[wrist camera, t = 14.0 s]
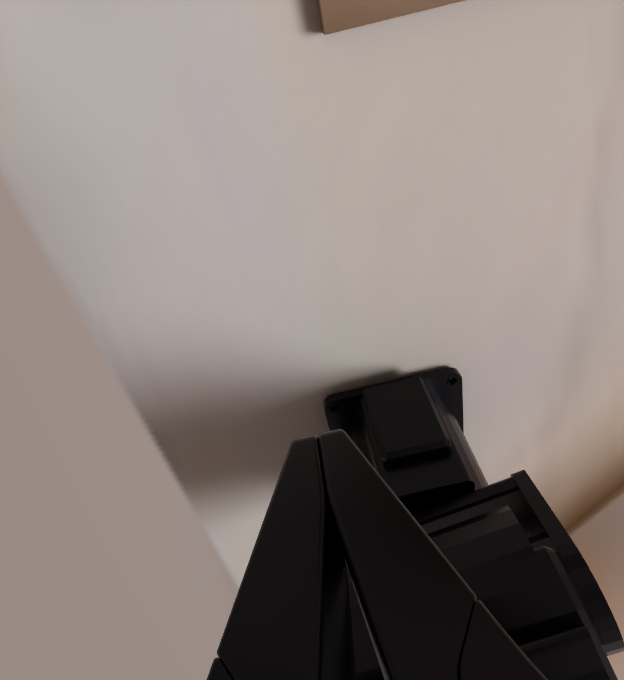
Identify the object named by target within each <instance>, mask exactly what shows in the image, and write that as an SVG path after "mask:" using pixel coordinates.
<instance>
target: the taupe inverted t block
mask: <svg viewBox="0 0 624 680" xmlns="http://www.w3.org/2000/svg"><path fill="white" fill-rule="evenodd" d="M460 1H464V0H318V6H319V12H320V18H321V25H322V31H323V33H324V34H325V35H326V34H330V33H334V32H338V31H342V30H346V29H350V28H354V27H358V26H362V25H366V24H371V23H375V22H379V21H383V20H387V19H391V18H395V17H399V16H403V15H407V14H411V13H415V12H419V11H423V10H427V9H432V8H436V7H440V6H444V5H448V4H452V3H456V2H460Z"/></svg>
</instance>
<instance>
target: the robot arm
mask: <svg viewBox="0 0 624 680" xmlns="http://www.w3.org/2000/svg"><path fill="white" fill-rule="evenodd" d="M451 377H453V378H452V379H450V380H447V379H448V378H451ZM333 404H338V405H336V406H332V405H333ZM324 409H325V413H326V417H327V421H328V425H329V429H330V431H328V432H324V433H321V434H320V435H319V437H317V436H315V435H311V436H307V437H302V438H298V439H295V440H293V441H292V443H291V445H290V448H289V450H288V453H287V456H286V459H285V462H284V464H283V467H282V470H281V473H280V476H279V479H278V481H277V484H276V487H275V490H274V493H273V495H272V498H271V501H270V504H269V507H268V509H267V512H266V515H265V518H264V521H263V524H262V526H261V529H260V532H259V535H258V538H257V540H256V543H255V546H254V549H253V552H252V554H251V557H250V560H249V563H248V566H247V569H246V571H245V574H244V577H243V580H242V583H241V585H240V588H239V591H238V594H237V597H236V599H235V602H234V605H233V608H232V611H231V614H230V616H229V619H228V622H227V625H226V628H225V630H224V633H223V636H222V639H221V642H220V645H219V648H218V650H217V655H218V657H219V658H220V659H219V658H215V659H214V661H213V663H212V666H211V669H210V672H209V675H208V678H207V680H618V679H617V677H616V675H615V673H614V671H613V669H612V667H611V664H610V662H609V660H608V658H607V656H608V655H612V654H615V653H619V652H622V651H624V642H623V639H622V636H621V633H620V630H619V628H618V626H617V623H616V621H615V619H614V616H613V614H612V612H611V610H610V608H609V606H608V604H607V601H606V600H605V597H604V595H603V593H602V591H601V590H600V588H599V586H598V584H597V582H596V580H595V578H594V576H593V574H592V573H591V571H590V569H589V567H588V565H587V564H586V562H585V560H584V559H583V557H582V555H581V553H580V552H579V550H578V549H577V547H576V546H575V544H574V543H573V541H572V539H571V538H570V536H569V535H568V533H567V532H566V531H565V529H564V528H563V526H562V525H561V523H560V522H559V520H558V519H557V517H556V516H555V514H554V513H553V511H552V510H551V508H550V507H549V505H548V504H547V502H546V501H545V499H544V498H543V497H542V495H541V494H540V492H539V491H538V489H537V488H536V486H535V485H534V483H533V482H532V480H531V479H530V477H529V476H528V474H527V473H526V471H525V470H522V471H519V472H516V473H514V474H511V477H510V478H507V479H504V480H502V481H499V482H496V483H494V484H491V485H488V483H487V481H486V479H485V477H484V475H483V473H482V471H481V469H480V467H479V465H478V463H477V461H476V459H475V457H474V455H473V453H472V451H471V448H470V446H469V444H468V442H467V440H466V438H465V436H464V434H463V397H462V377H461V375H460V373H459V371H458V370H457V369H455V368H446V369H441V370H437V371H433V372H428V373H424V374H419V375H415V376H411V377H406V378H402V379H398V380H393V381H389V382H385V383H380V384H376V385H372V386H367V387H363V388H359V389H354V390H350V391H345V392H341V393H337V394H332V395H330V396H328V397H327V398H325V400H324Z"/></svg>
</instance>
